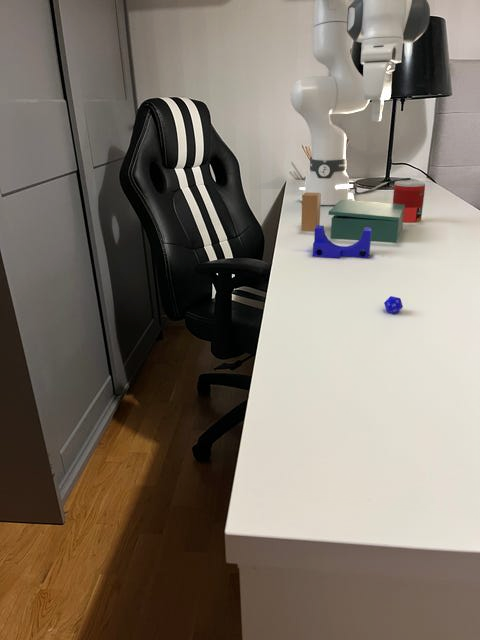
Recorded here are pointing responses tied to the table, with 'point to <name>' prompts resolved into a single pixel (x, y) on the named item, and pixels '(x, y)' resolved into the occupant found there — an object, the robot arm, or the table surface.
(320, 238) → the blue curved bracket
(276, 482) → the table surface
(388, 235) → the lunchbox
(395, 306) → the die
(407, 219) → the canned food
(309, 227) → the carton
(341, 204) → the lid
